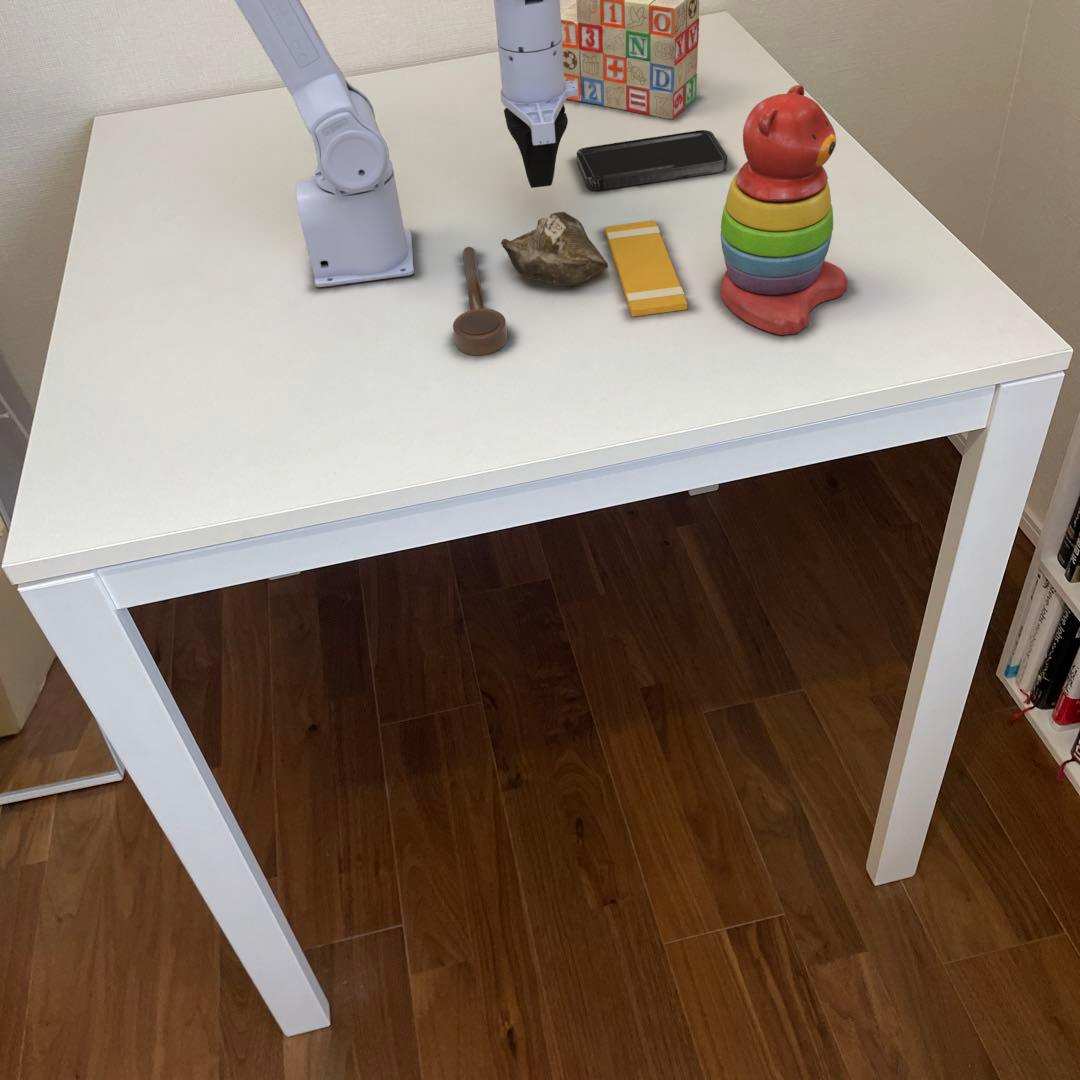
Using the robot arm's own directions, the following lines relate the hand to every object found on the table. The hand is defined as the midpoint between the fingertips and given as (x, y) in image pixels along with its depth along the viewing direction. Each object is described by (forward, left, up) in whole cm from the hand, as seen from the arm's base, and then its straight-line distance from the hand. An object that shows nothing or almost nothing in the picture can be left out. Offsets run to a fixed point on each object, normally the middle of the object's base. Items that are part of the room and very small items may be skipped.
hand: (540, 183), depth 107 cm
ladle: (-8, -12, -5) cm, 15 cm away
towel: (+8, -10, -5) cm, 14 cm away
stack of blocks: (+11, +29, -5) cm, 31 cm away
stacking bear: (+19, -17, -5) cm, 26 cm away
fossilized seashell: (0, -9, -5) cm, 11 cm away
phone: (+13, +10, -5) cm, 16 cm away
